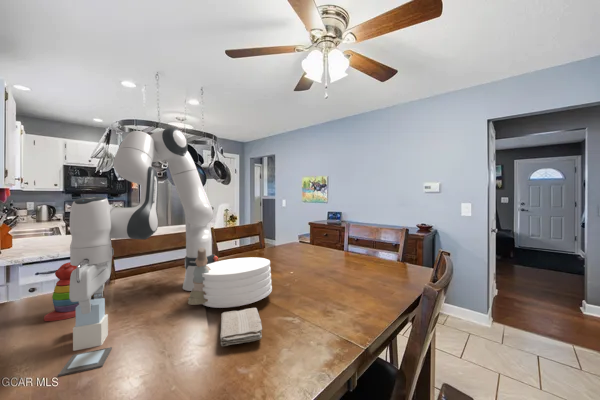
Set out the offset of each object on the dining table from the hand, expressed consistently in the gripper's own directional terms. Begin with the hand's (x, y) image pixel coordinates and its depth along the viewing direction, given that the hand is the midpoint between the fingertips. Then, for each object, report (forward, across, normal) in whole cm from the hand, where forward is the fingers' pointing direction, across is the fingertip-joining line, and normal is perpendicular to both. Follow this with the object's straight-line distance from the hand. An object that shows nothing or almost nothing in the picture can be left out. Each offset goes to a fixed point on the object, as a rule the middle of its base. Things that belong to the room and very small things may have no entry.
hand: (93, 305), depth 70 cm
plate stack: (+10, +16, -42) cm, 46 cm away
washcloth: (+11, -9, -38) cm, 41 cm away
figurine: (+9, +13, -28) cm, 33 cm away
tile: (+10, -10, -1) cm, 14 cm away
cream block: (+10, 0, 0) cm, 10 cm away
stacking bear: (+10, +25, +13) cm, 30 cm away
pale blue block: (+4, 0, +1) cm, 4 cm away
